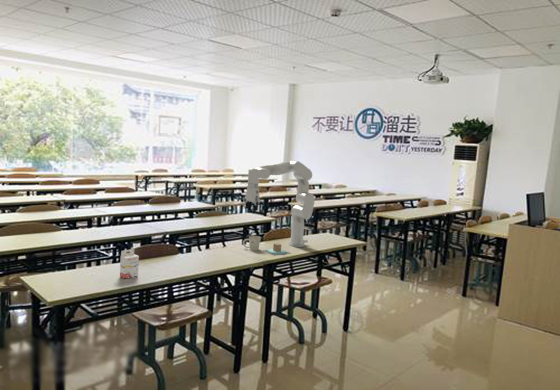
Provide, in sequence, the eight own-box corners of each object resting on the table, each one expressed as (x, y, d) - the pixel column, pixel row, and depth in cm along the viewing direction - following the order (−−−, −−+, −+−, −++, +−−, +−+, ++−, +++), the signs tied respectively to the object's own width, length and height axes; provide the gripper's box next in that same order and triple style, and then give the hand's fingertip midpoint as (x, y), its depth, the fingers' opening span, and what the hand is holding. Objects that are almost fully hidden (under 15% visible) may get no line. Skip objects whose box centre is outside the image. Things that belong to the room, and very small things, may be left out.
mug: (259, 252, 318) (260, 238, 317) (241, 251, 318) (242, 237, 317) (260, 249, 326) (260, 236, 325) (243, 248, 326) (243, 235, 325)
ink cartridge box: (124, 279, 241) (125, 252, 239) (119, 277, 244) (120, 250, 242) (138, 276, 247) (139, 250, 246) (133, 274, 250) (134, 248, 249)
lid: (279, 249, 327) (279, 241, 327) (289, 253, 317) (290, 245, 316) (264, 250, 320) (264, 242, 319) (274, 255, 309) (275, 246, 309)
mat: (279, 250, 329) (279, 248, 329) (291, 254, 317) (291, 253, 317) (262, 251, 320) (262, 250, 320) (274, 256, 308) (274, 255, 308)
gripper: (264, 187, 312) (263, 211, 314) (249, 184, 324) (248, 207, 326) (256, 187, 307) (255, 211, 309) (241, 184, 319) (239, 208, 321)
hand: (251, 209), depth 317 cm, fingers open, 9 cm apart
